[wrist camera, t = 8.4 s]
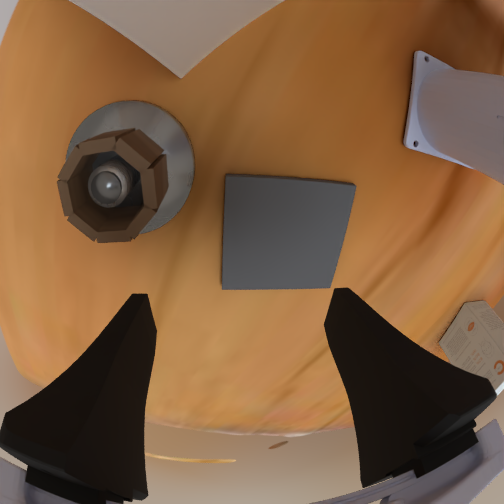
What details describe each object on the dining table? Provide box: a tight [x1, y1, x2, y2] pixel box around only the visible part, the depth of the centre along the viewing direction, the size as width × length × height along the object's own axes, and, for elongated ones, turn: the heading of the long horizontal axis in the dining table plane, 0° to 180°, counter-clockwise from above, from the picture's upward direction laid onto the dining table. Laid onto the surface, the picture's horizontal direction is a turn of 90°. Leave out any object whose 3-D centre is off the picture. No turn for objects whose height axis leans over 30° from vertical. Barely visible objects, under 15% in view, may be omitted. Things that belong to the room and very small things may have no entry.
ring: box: [57, 128, 169, 243], centre depth 14 cm, size 6×6×4 cm
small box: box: [439, 300, 504, 395], centre depth 26 cm, size 8×6×13 cm
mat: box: [222, 174, 356, 290], centre depth 20 cm, size 9×9×1 cm
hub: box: [66, 101, 195, 234], centre depth 15 cm, size 9×9×4 cm
